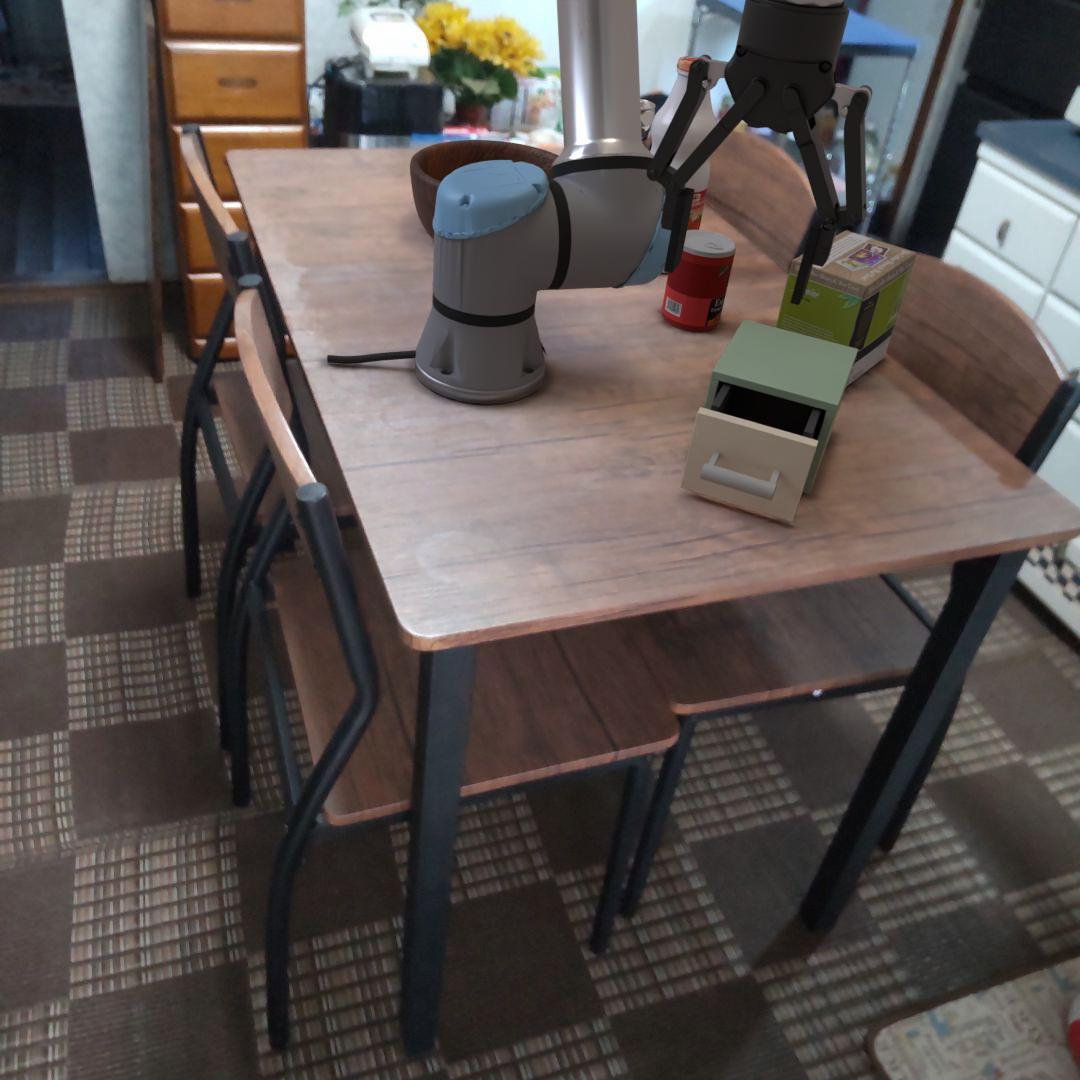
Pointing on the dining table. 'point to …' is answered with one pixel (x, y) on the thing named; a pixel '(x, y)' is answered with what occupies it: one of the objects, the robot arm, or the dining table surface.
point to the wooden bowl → (452, 155)
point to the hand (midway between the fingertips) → (733, 282)
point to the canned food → (699, 282)
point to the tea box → (851, 297)
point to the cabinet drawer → (752, 450)
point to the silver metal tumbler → (646, 121)
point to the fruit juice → (687, 138)
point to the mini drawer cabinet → (787, 374)
